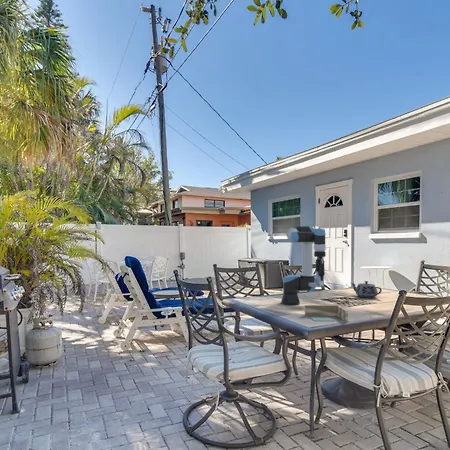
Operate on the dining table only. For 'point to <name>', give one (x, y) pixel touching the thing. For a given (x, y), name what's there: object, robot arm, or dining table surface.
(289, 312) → the dining table surface
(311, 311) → the wooden corner frame
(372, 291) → the teapot
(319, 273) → the angle block
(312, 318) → the mat
